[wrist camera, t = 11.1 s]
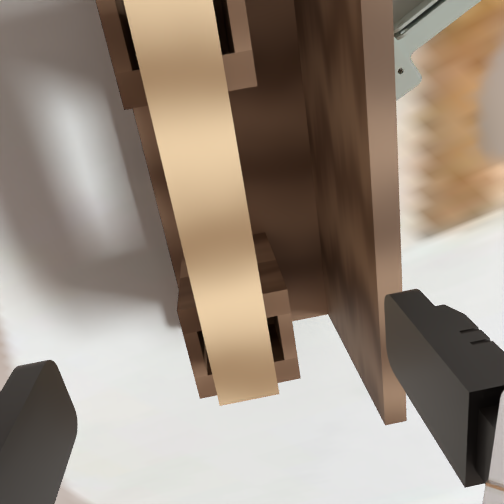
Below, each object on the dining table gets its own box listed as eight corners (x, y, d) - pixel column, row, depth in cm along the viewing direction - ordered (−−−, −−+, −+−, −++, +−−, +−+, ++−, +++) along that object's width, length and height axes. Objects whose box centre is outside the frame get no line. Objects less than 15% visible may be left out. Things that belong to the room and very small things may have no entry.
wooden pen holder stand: (100, -39, 27) (10, -132, 14) (298, -73, 27) (386, -192, 15) (192, 327, 37) (188, 465, 24) (335, 299, 38) (406, 420, 25)
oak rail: (146, 17, 22) (122, -5, 15) (206, 7, 22) (209, -19, 15) (215, 325, 29) (219, 405, 22) (260, 316, 29) (279, 394, 23)
